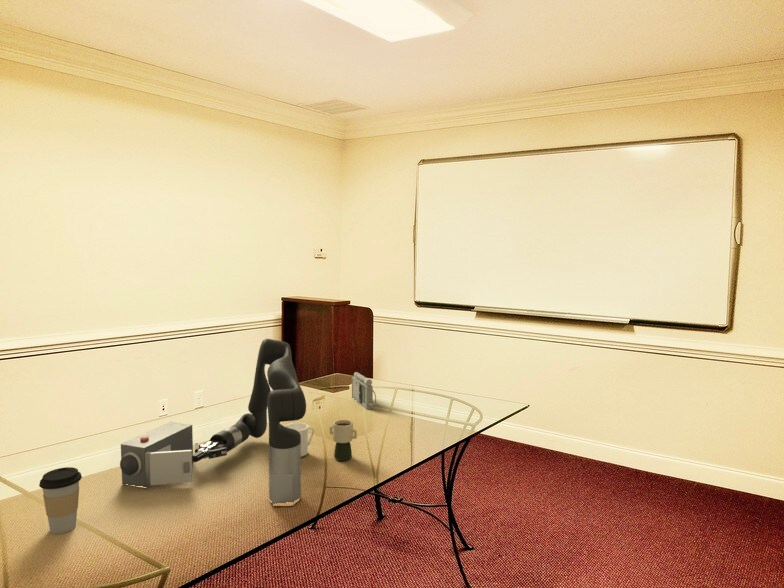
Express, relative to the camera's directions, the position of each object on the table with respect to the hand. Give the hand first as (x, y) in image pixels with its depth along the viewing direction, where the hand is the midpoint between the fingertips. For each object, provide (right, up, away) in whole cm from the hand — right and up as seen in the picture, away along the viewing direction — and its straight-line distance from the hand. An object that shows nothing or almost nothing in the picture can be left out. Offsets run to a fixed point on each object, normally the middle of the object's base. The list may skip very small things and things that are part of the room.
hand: (193, 459), depth 167 cm
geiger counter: (+51, 0, +82) cm, 96 cm away
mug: (+30, -5, +22) cm, 37 cm away
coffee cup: (-23, -9, -29) cm, 39 cm away
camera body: (-13, -6, +4) cm, 15 cm away
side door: (-5, -6, -6) cm, 10 cm away
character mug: (+46, -6, +18) cm, 50 cm away
